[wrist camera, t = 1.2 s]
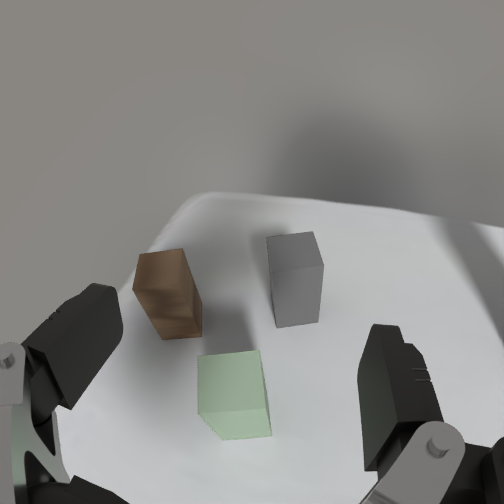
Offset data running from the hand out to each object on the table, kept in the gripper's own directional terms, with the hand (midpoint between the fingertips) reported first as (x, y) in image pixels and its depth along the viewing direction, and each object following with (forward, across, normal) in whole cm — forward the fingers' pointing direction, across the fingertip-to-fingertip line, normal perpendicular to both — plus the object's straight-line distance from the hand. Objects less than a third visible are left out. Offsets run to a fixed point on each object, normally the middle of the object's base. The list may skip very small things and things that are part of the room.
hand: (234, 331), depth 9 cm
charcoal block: (+26, -2, +16) cm, 31 cm away
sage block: (+13, +1, +22) cm, 25 cm away
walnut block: (+23, +11, +19) cm, 32 cm away
